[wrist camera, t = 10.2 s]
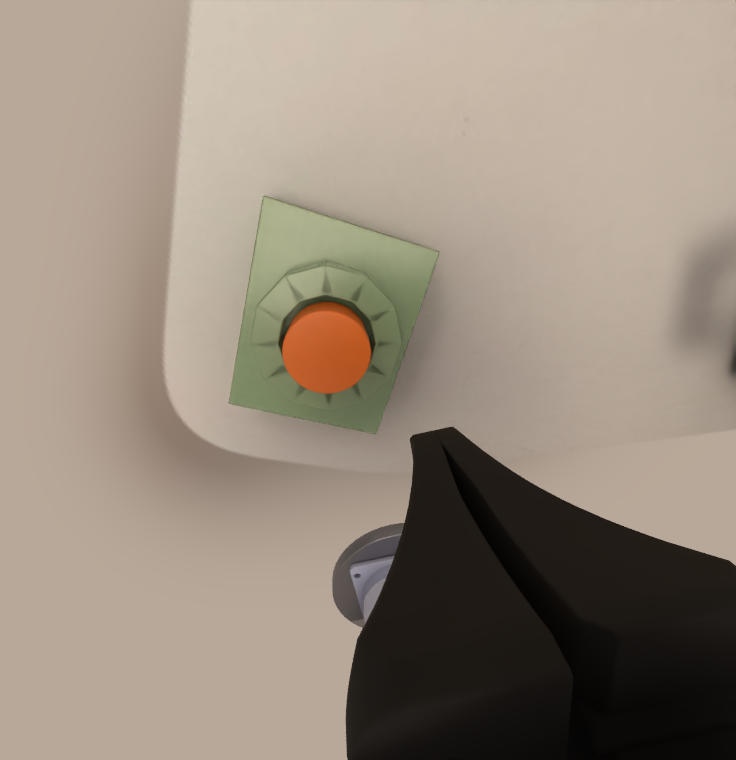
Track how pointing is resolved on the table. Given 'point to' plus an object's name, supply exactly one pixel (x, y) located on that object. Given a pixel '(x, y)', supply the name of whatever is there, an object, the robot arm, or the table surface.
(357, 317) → the button
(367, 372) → the button housing
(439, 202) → the table surface
